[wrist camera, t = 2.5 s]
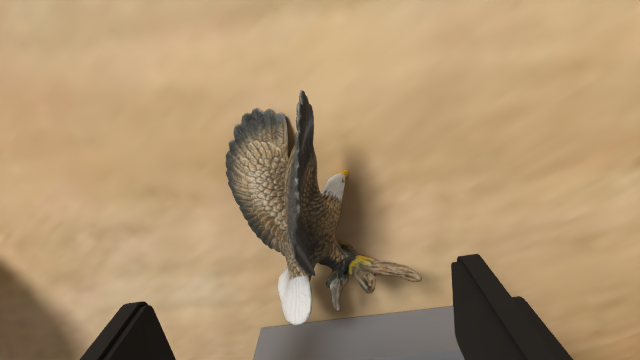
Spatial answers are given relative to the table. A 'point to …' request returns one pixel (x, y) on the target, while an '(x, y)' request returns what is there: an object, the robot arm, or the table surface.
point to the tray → (365, 338)
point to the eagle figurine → (296, 208)
